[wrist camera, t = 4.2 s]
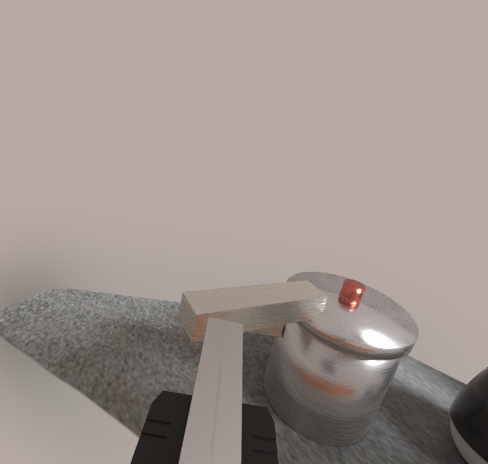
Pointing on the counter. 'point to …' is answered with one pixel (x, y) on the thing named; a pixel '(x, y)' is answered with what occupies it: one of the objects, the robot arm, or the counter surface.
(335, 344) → the lid
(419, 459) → the counter surface
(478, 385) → the pump dispenser
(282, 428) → the counter surface
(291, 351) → the cooker pot
